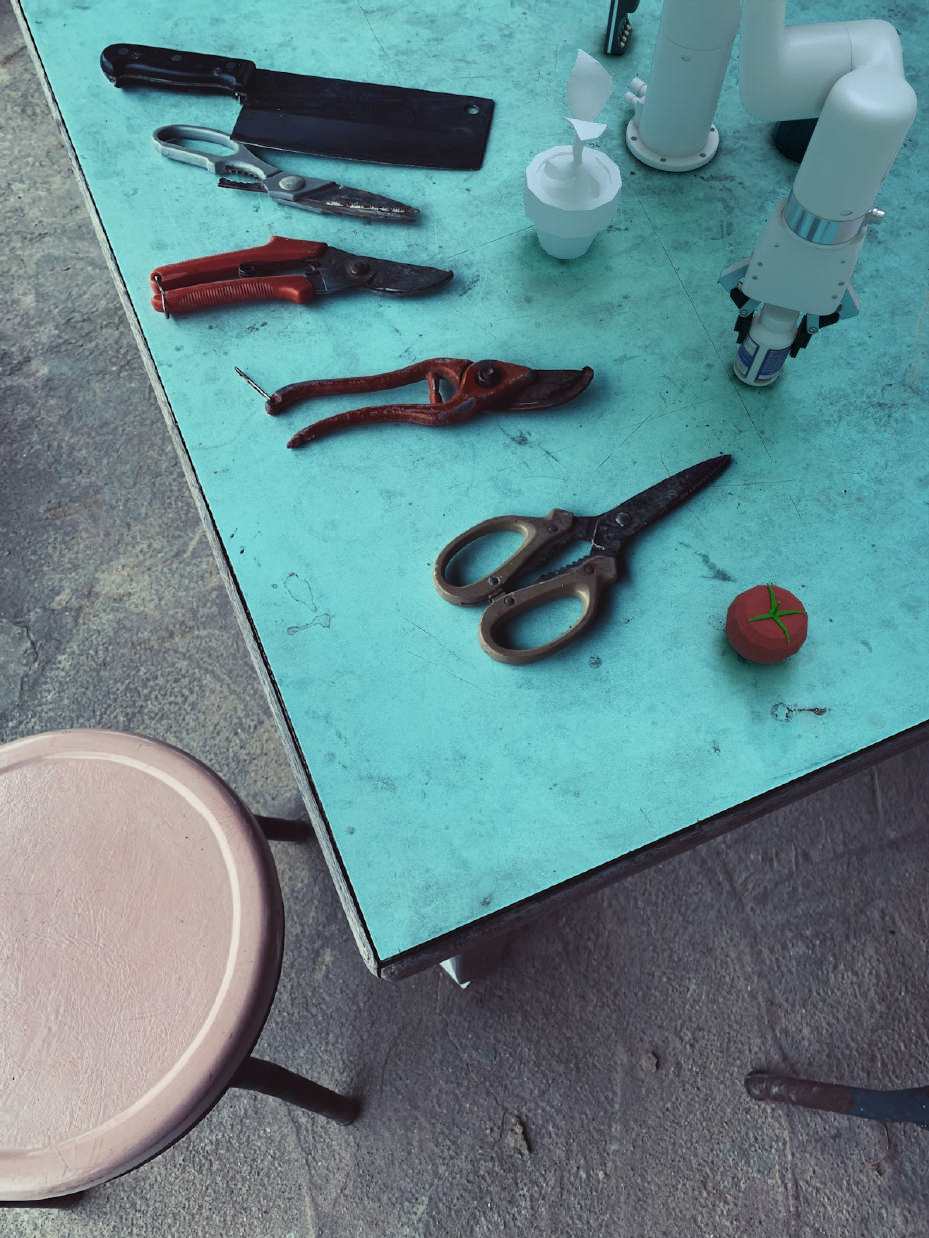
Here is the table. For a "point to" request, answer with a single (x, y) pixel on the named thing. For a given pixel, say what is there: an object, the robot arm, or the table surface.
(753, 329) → the pill bottle
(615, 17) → the battery charger
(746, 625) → the tomato
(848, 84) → the robot arm
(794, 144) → the pot
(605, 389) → the table surface
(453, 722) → the table surface
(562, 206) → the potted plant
